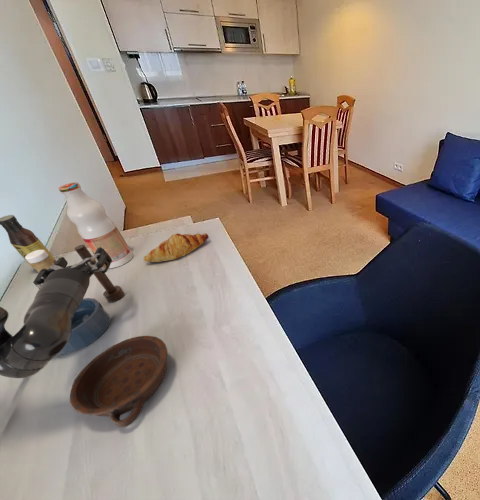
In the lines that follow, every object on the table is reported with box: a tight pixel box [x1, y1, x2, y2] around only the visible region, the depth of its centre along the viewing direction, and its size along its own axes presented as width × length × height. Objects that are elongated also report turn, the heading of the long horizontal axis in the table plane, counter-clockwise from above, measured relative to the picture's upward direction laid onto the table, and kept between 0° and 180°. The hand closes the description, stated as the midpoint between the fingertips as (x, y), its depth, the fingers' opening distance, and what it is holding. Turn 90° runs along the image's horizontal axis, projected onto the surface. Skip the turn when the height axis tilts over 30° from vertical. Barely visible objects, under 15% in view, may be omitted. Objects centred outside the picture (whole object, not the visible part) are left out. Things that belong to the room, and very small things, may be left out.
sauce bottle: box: [0, 214, 57, 271], centre depth 100 cm, size 6×6×20 cm
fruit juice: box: [58, 181, 134, 269], centre depth 97 cm, size 9×9×28 cm
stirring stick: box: [74, 244, 126, 303], centre depth 84 cm, size 4×4×18 cm
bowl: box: [56, 297, 111, 356], centre depth 76 cm, size 14×14×6 cm
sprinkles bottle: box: [24, 250, 55, 273], centre depth 91 cm, size 5×5×13 cm
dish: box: [69, 335, 168, 428], centre depth 63 cm, size 18×22×5 cm
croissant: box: [143, 232, 209, 263], centre depth 104 cm, size 21×10×8 cm, turn 125°
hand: (83, 255), depth 79 cm, fingers open, 8 cm apart
